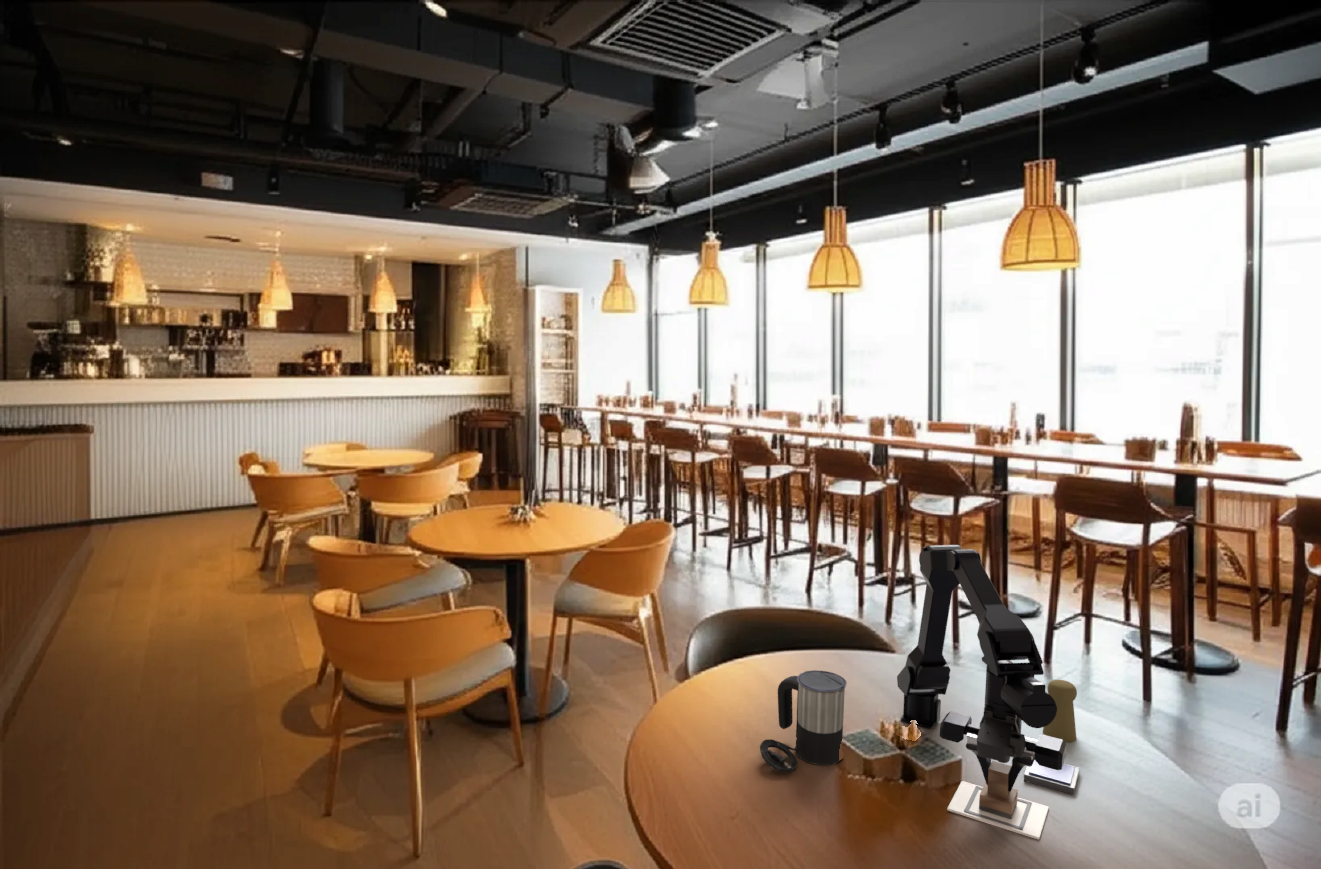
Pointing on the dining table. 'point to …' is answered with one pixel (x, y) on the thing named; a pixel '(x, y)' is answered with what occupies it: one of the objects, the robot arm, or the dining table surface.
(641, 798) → the dining table surface
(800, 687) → the milk frother
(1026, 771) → the ink pad
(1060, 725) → the cork
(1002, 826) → the print card
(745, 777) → the dining table surface
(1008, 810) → the stamp
